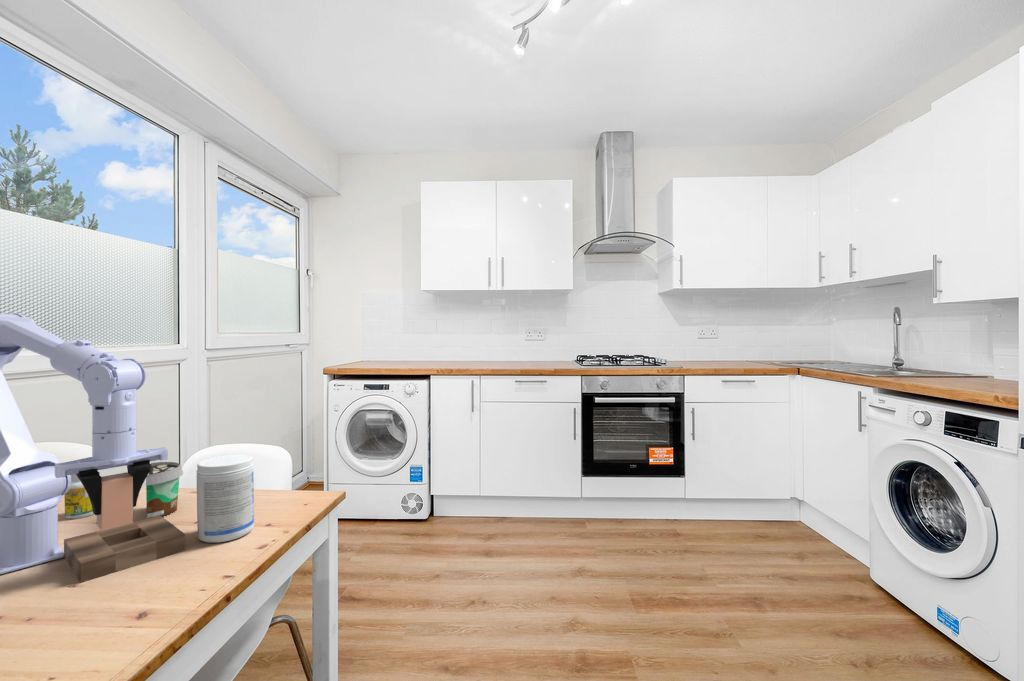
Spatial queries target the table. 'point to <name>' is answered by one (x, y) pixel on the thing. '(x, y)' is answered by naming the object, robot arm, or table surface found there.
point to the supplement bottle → (77, 500)
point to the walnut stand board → (122, 547)
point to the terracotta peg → (116, 501)
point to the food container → (162, 488)
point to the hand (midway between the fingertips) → (114, 509)
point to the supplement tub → (225, 498)
